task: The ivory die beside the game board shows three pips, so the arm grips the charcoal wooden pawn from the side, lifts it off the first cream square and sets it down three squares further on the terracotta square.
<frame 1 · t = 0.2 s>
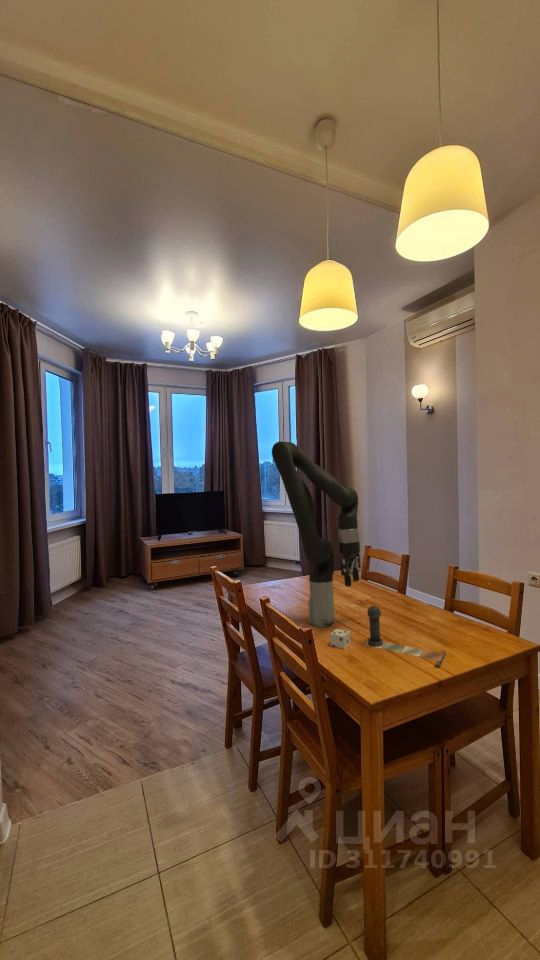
hand: (352, 583, 146), 17 cm above the table, tool pointing down, fingers open, 8 cm apart
pawn: (375, 643, 130), point 1 cm above the table, touching board
die: (340, 647, 131), on the table
board: (402, 651, 125), on the table
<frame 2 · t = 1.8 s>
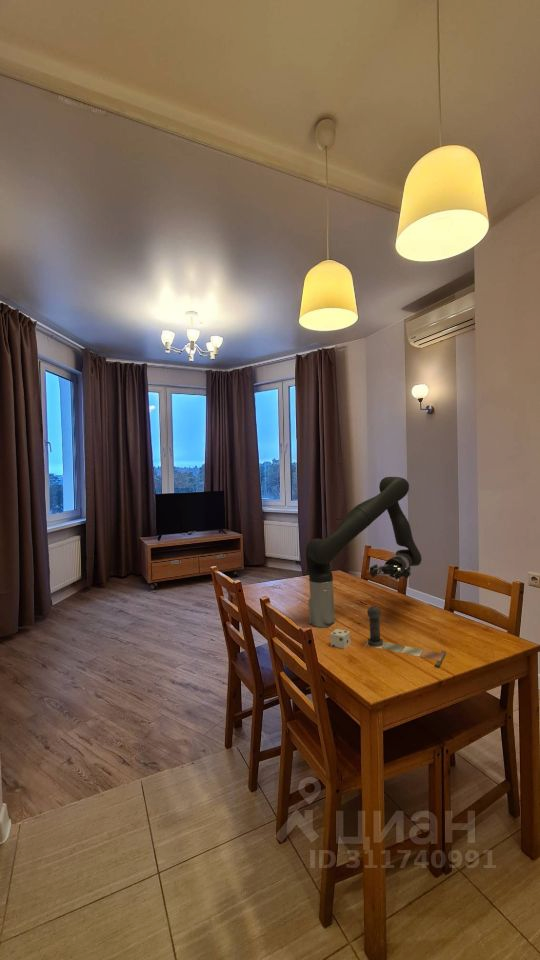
hand: (384, 575, 140), 21 cm above the table, tool horizontal, fingers open, 8 cm apart
nothing on the table moved.
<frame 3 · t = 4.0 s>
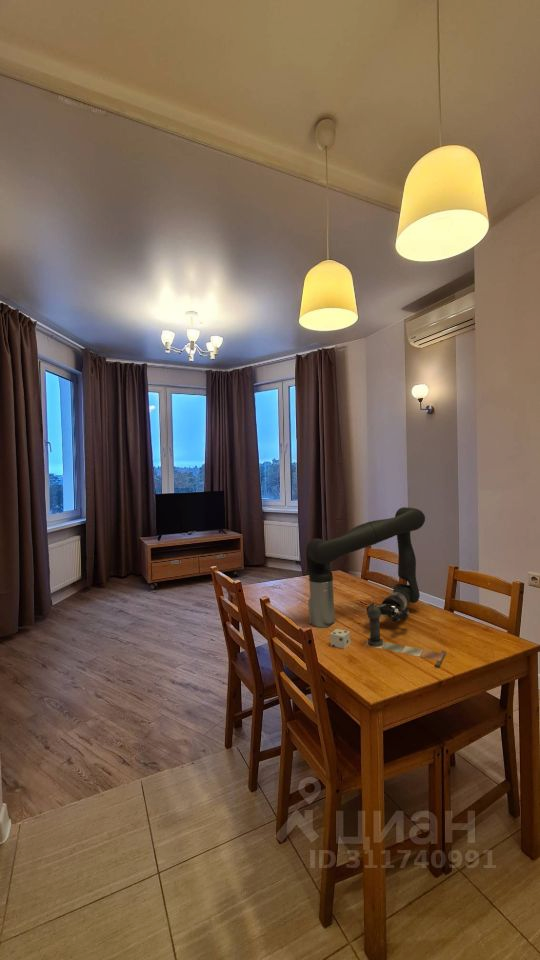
hand: (381, 617, 136), 7 cm above the table, tool horizontal, fingers open, 8 cm apart
nothing on the table moved.
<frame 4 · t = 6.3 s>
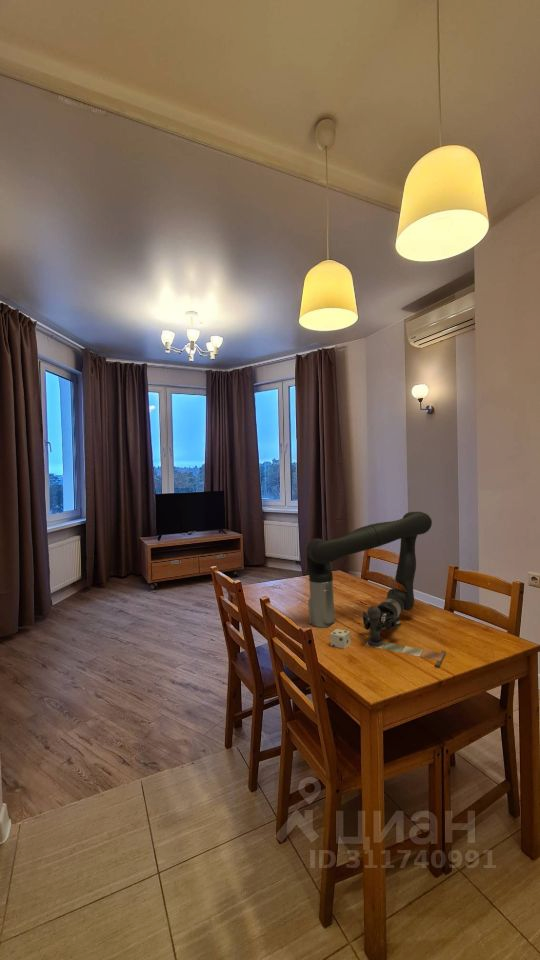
hand: (371, 627, 128), 7 cm above the table, tool horizontal, fingers closed on pawn, 3 cm apart
pawn: (375, 643, 130), point 1 cm above the table, touching board, gripper
everything else where it was.
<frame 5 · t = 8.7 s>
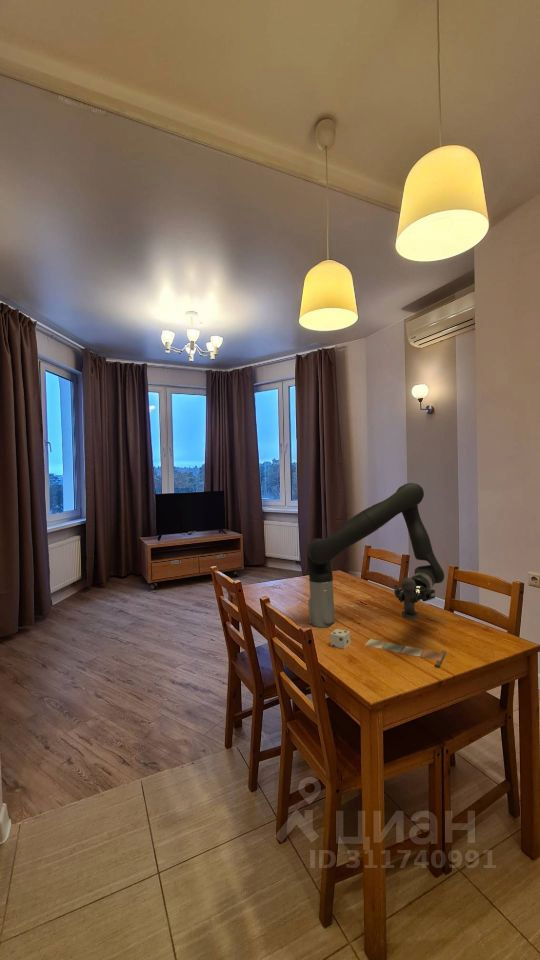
hand: (406, 599, 122), 18 cm above the table, tool horizontal, fingers closed on pawn, 3 cm apart
pawn: (409, 616, 124), point 12 cm above the table, touching gripper
everything else where it was.
when the fingers open (8 cm above the table, at t = 11.3 s): pawn stays where it is, resting on board.
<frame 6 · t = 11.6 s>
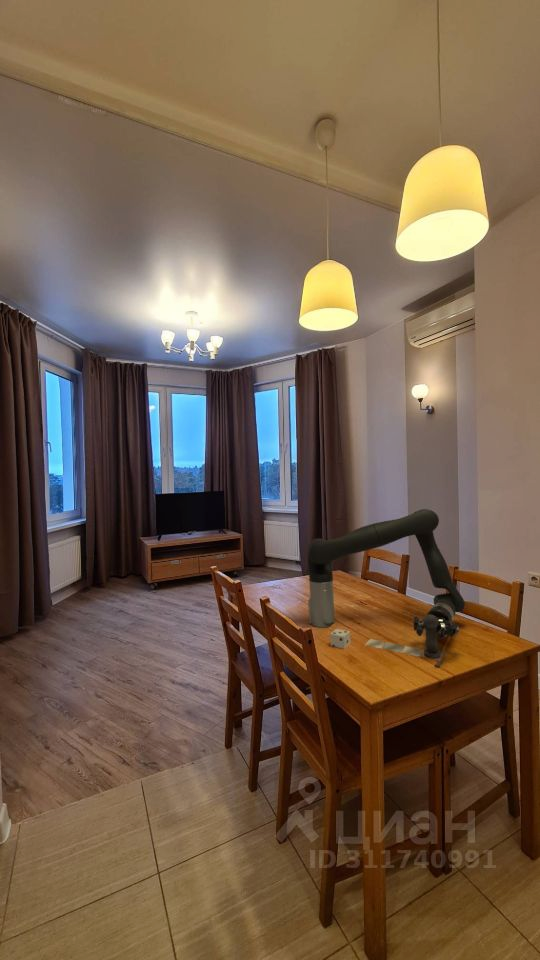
hand: (429, 634, 118), 8 cm above the table, tool horizontal, fingers open, 5 cm apart
pawn: (432, 654, 120), point 1 cm above the table, touching board
everything else where it was.
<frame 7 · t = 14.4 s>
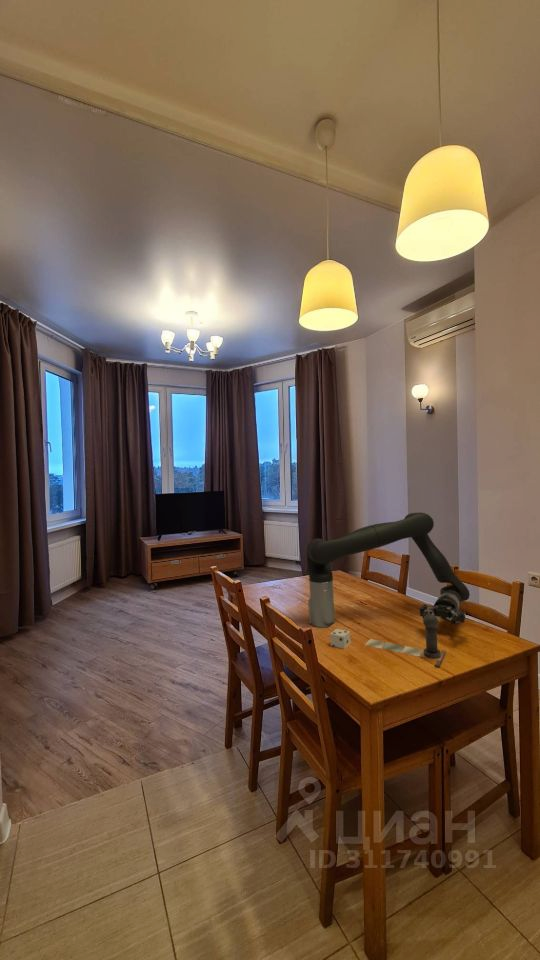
hand: (438, 620, 129), 8 cm above the table, tool horizontal, fingers open, 8 cm apart
nothing on the table moved.
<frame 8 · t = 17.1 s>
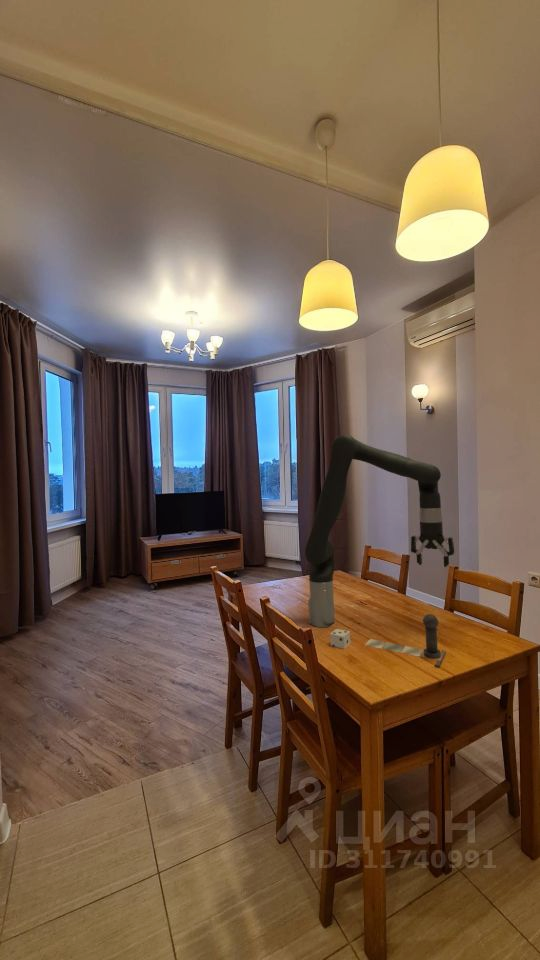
hand: (432, 565, 139), 24 cm above the table, tool pointing down, fingers open, 8 cm apart
nothing on the table moved.
at the end: pawn 0.1 cm from the target spot on the board, point 0.9 cm above the board's base; pawn tilted 0°; the gripper is holding nothing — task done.
